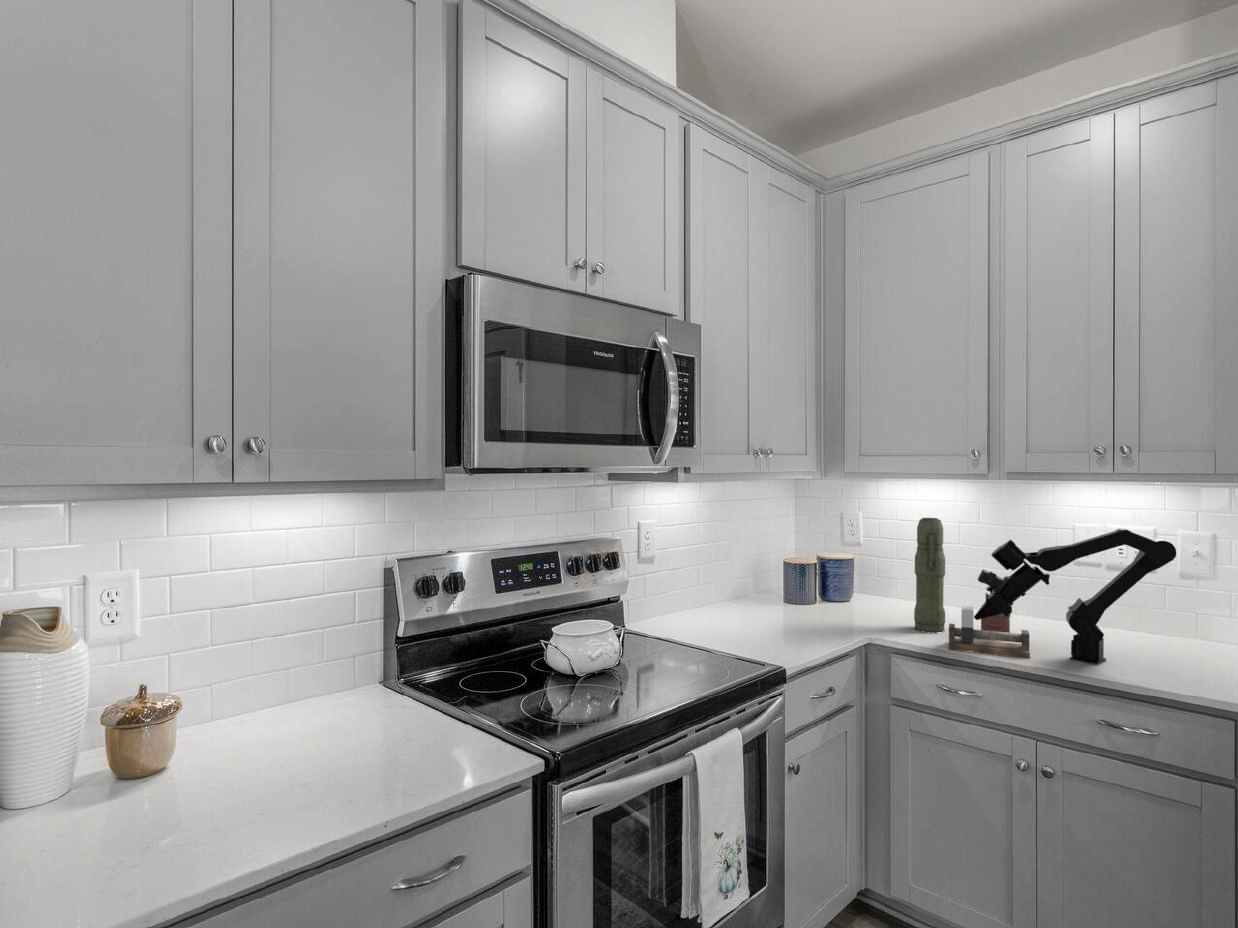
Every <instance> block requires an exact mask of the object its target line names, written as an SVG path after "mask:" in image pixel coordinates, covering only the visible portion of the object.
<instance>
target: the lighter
mask: <svg viewBox="0 0 1238 928" xmlns="http://www.w3.org/2000/svg"><path fill="white" fill-rule="evenodd" d="M1011 614H1012V613H1010V614H1009V615H1008V616H1007V617H1006V616H1005V615H1004V614H998V615H994V616H991V617H987V618H983V619H980V630H985V631H996V632H1007V633H1011V632H1010V631H1011V626H1010V625H1011V620H1010V619H1011Z"/></svg>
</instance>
